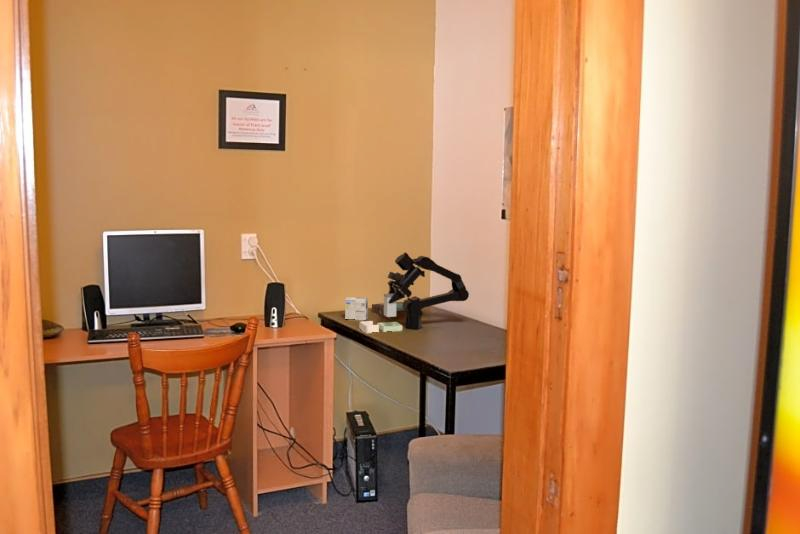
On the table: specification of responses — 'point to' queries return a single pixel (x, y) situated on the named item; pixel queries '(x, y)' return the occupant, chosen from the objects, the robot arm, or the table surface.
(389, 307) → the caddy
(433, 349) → the table surface
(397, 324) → the tray
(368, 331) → the bay
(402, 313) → the book
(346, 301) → the light bulb box
